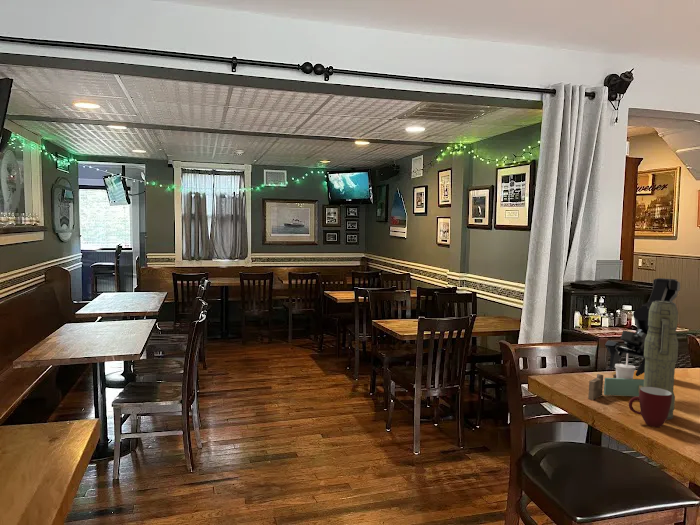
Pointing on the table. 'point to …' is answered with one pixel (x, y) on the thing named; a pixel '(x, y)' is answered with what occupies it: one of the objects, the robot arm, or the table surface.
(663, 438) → the table surface
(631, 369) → the smoothie
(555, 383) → the table surface
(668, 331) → the thermos
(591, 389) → the brown block
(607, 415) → the table surface
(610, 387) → the green block
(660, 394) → the mug
